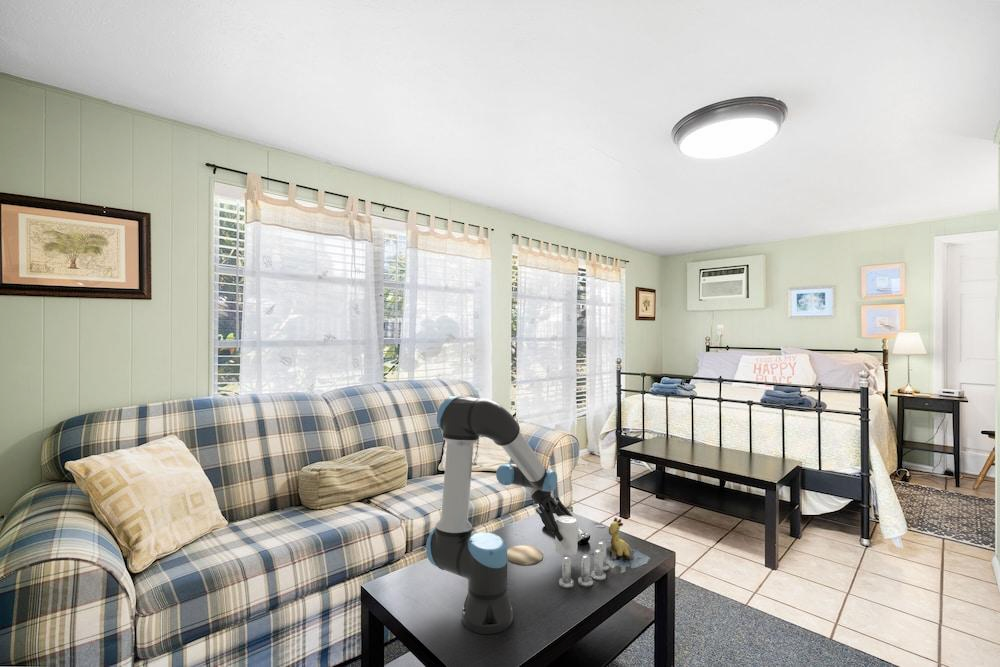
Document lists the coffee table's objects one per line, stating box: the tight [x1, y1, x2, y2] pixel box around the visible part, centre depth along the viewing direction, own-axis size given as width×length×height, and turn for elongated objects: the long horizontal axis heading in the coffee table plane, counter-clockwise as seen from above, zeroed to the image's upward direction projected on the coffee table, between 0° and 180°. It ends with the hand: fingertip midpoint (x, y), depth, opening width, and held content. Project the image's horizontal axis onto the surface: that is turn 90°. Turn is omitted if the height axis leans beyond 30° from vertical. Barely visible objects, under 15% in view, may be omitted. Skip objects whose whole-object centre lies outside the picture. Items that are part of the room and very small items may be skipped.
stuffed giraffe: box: [589, 517, 651, 574], centre depth 170 cm, size 16×18×16 cm
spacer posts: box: [558, 540, 610, 589], centre depth 157 cm, size 23×12×9 cm, turn 142°
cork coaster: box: [507, 545, 543, 566], centre depth 171 cm, size 14×14×1 cm
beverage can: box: [554, 515, 579, 557], centre depth 165 cm, size 8×8×12 cm
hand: (574, 543), depth 163 cm, fingers closed on beverage can, 8 cm apart
